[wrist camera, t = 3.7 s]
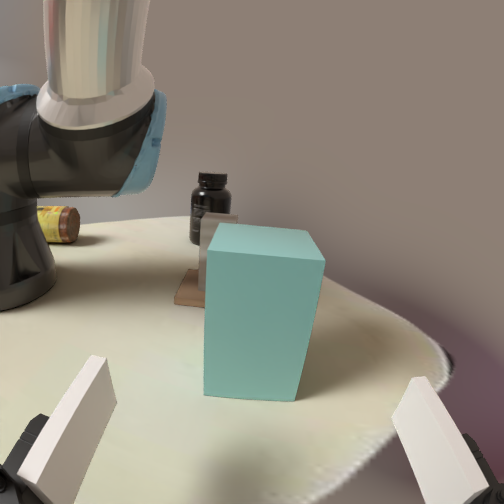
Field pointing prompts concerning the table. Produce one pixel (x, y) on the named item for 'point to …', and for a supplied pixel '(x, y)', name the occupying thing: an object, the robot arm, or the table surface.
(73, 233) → the sauce bottle
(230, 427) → the table surface
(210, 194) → the supplement bottle
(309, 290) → the tall teal pillar
